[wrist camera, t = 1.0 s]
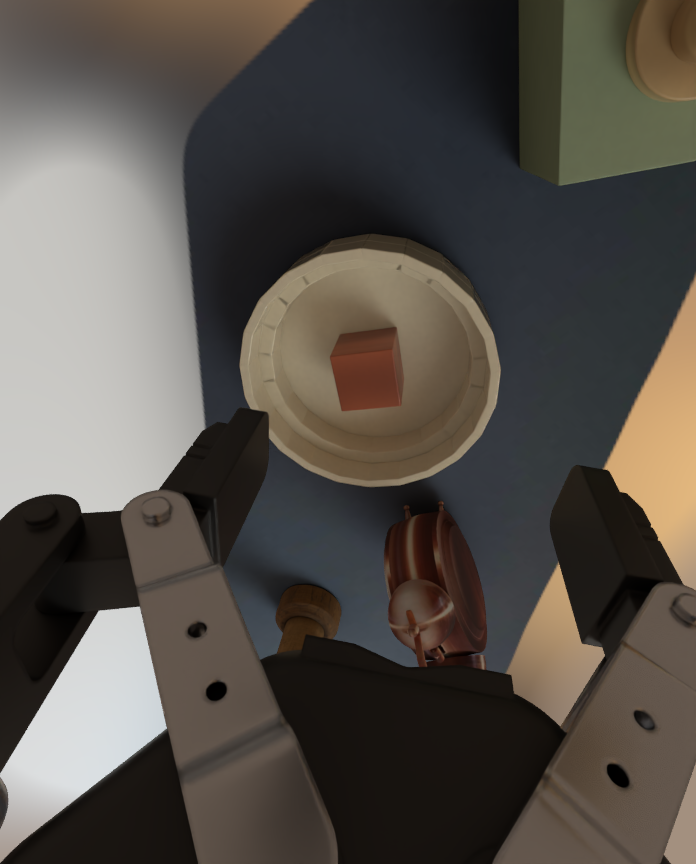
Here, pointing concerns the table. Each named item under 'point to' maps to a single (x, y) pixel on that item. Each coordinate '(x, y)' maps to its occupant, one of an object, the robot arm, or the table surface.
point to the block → (368, 369)
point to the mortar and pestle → (306, 615)
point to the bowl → (420, 353)
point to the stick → (663, 49)
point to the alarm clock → (435, 591)
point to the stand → (590, 97)
